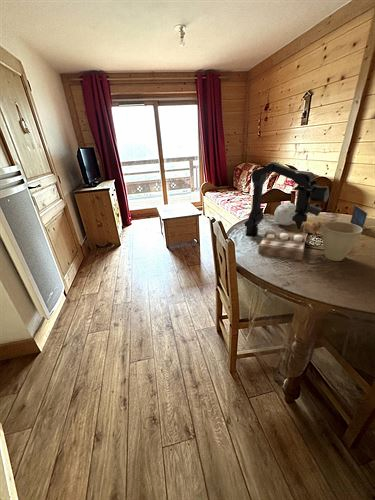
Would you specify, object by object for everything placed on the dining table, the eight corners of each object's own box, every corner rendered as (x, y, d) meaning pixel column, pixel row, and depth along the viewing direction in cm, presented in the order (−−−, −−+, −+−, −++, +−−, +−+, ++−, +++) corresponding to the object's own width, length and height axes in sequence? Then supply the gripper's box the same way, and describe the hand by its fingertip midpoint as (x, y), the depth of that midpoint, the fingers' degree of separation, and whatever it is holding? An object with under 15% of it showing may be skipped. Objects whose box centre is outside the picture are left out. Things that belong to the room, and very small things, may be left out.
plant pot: (338, 268, 96) (347, 235, 89) (309, 255, 109) (315, 225, 101) (360, 259, 101) (370, 228, 94) (330, 248, 113) (337, 219, 106)
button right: (292, 243, 115) (293, 237, 114) (293, 240, 119) (294, 234, 117) (301, 244, 113) (302, 238, 112) (302, 241, 117) (303, 235, 115)
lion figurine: (324, 235, 128) (327, 221, 124) (320, 238, 125) (323, 223, 121) (300, 229, 139) (303, 215, 135) (296, 231, 136) (298, 217, 132)
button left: (265, 242, 122) (265, 236, 121) (266, 239, 126) (267, 233, 124) (273, 243, 120) (274, 237, 119) (274, 240, 124) (275, 234, 122)
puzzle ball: (271, 226, 146) (273, 205, 139) (275, 220, 157) (278, 199, 151) (295, 229, 139) (299, 207, 132) (298, 222, 150) (302, 201, 143)
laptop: (328, 223, 144) (333, 204, 139) (350, 224, 141) (355, 204, 135) (336, 233, 129) (341, 212, 123) (361, 234, 125) (368, 213, 120)
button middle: (278, 241, 118) (279, 235, 117) (279, 238, 122) (280, 232, 120) (287, 242, 116) (288, 236, 115) (288, 239, 120) (289, 233, 118)
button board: (258, 253, 115) (258, 244, 112) (266, 237, 131) (267, 230, 129) (302, 260, 105) (303, 251, 103) (304, 242, 122) (306, 234, 120)
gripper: (321, 205, 95) (315, 237, 102) (322, 195, 109) (316, 224, 116) (294, 204, 100) (290, 235, 107) (297, 195, 115) (294, 223, 121)
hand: (298, 229), depth 113 cm, fingers closed
